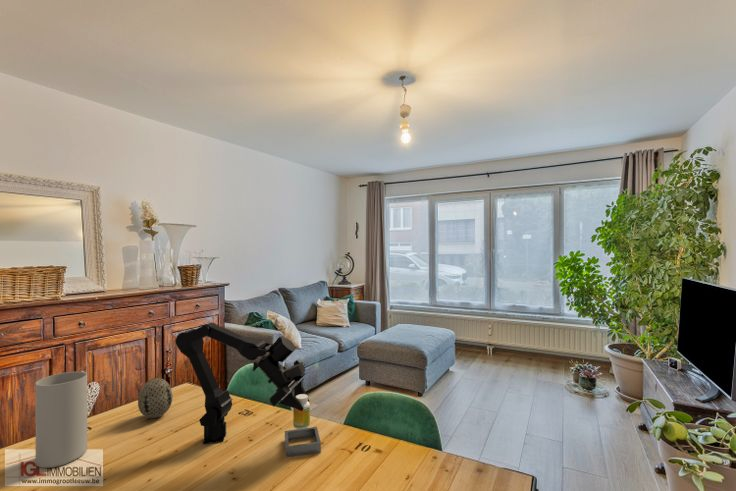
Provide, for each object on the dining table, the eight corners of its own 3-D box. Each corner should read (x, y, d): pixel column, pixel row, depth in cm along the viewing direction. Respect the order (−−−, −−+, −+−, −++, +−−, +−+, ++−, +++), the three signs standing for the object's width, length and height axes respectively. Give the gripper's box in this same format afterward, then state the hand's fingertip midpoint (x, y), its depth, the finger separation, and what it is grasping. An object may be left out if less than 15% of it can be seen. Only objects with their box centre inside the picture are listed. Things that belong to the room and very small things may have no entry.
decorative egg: (161, 423, 135) (161, 384, 136) (130, 424, 136) (130, 384, 136) (178, 410, 147) (178, 373, 147) (150, 410, 147) (150, 373, 148)
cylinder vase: (96, 450, 118) (96, 373, 118) (52, 472, 106) (52, 387, 106) (70, 443, 122) (70, 369, 122) (25, 464, 110) (25, 382, 110)
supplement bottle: (306, 430, 116) (306, 400, 116) (290, 428, 117) (290, 399, 118) (312, 422, 122) (312, 393, 122) (297, 421, 123) (297, 392, 123)
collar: (285, 457, 113) (285, 448, 113) (284, 439, 123) (284, 431, 123) (320, 452, 116) (320, 442, 116) (316, 435, 126) (316, 426, 126)
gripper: (279, 363, 111) (313, 401, 109) (300, 347, 130) (329, 379, 128) (255, 387, 112) (288, 425, 111) (279, 367, 131) (308, 400, 129)
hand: (305, 406), depth 119 cm, fingers closed on supplement bottle, 5 cm apart
